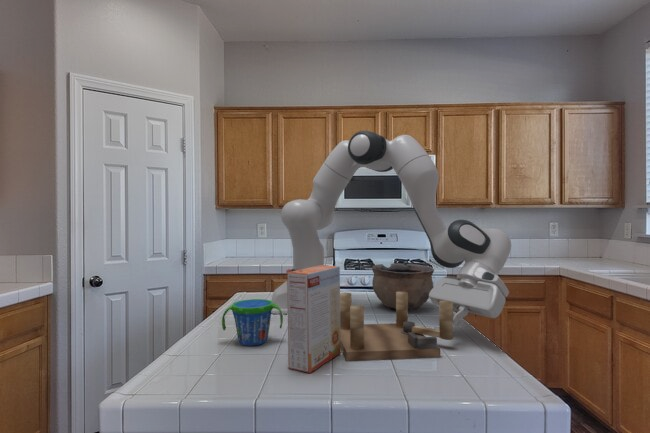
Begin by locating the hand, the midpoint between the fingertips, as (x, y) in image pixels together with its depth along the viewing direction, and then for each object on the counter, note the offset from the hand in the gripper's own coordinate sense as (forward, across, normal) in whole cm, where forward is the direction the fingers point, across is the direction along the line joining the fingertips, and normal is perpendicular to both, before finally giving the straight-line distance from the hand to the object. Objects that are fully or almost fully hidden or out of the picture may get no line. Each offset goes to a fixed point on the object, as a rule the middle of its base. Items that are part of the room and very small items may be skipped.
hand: (450, 321), depth 96 cm
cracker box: (+29, -8, -20) cm, 36 cm away
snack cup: (+34, -28, -26) cm, 51 cm away
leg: (+6, -3, -1) cm, 7 cm away
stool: (+14, -10, -6) cm, 18 cm away
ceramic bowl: (-8, -37, +17) cm, 41 cm away
